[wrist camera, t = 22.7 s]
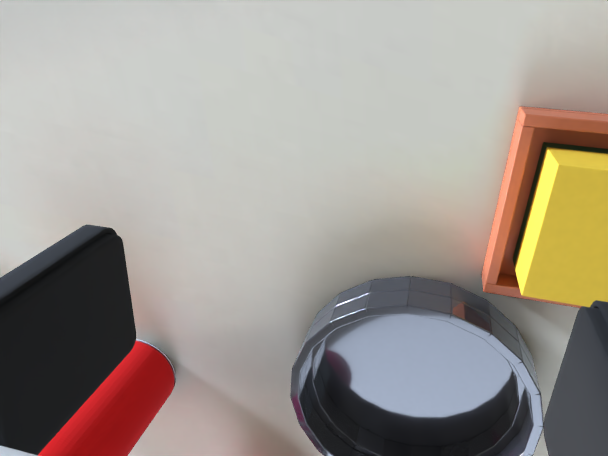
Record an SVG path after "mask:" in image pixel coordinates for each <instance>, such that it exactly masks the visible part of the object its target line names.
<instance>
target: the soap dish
mask: <svg viewBox="0 0 608 456" xmlns="http://www.w3.org/2000/svg"><path fill="white" fill-rule="evenodd" d="M543 142H548V143H557V144H567V145H576V146H585V147H594V148H604V149H608V114H602V113H590V112H579V111H568V110H556V109H545V108H534V107H523V106H521V107H519V112H518V116H517V121H516V125H515V129H514V134H513V138H512V143H511V147H510V151H509V156H508V160H507V165H506V169H505V173H504V178H503V182H502V187H501V191H500V195H499V200H498V204H497V209H496V213H495V217H494V222H493V226H492V231H491V235H490V239H489V244H488V248H487V253H486V257H485V262H484V266H483V270H482V283H483V291H484V292H487V293H493V294H499V295H505V296H511V297H517V298H523V299H529V300H535V301H541V302H547V303H553V304H559V305H565V306H571V307H577V308H581V307H582V306H579V305H573V304H567V303H562V302H556V301H550V300H544V299H538V298H532V297H526V296H522V295H521V292H520V288H519V284H518V280H517V276H516V272H515V267H514V263H513V255H514V252H515V248H516V244H517V240H518V236H519V232H520V229H521V225H522V221H523V217H524V213H525V210H526V206H527V202H528V198H529V194H530V190H531V187H532V183H533V179H534V175H535V171H536V168H537V164H538V160H539V156H540V152H541V148H542V145H543Z"/></svg>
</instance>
